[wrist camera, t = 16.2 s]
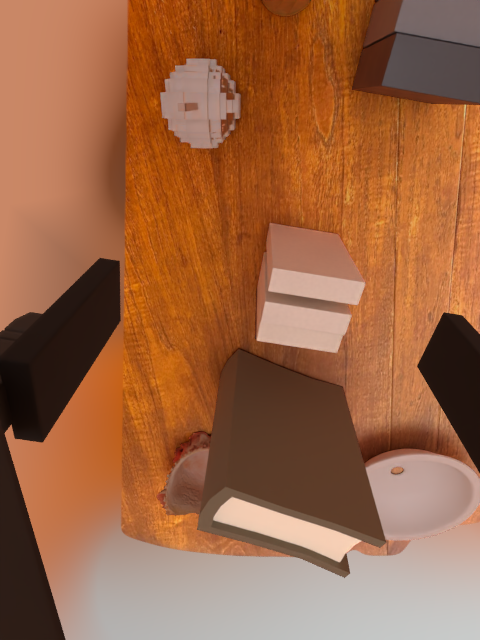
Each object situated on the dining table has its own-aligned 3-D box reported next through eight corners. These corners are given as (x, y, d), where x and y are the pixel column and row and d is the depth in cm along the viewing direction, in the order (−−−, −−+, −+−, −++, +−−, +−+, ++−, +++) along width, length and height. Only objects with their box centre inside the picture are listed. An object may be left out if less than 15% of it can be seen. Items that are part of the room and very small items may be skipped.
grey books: (386, -47, 35) (436, -105, 25) (480, -29, 35) (566, -79, 25) (351, 89, 40) (381, 86, 31) (432, 103, 41) (487, 104, 31)
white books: (264, 251, 50) (264, 301, 38) (329, 262, 50) (352, 315, 38) (256, 292, 53) (254, 351, 41) (317, 302, 54) (335, 363, 41)
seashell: (218, 489, 79) (268, 458, 72) (214, 543, 70) (271, 514, 64) (151, 454, 72) (200, 418, 66) (138, 510, 64) (192, 474, 57)
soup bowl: (488, 475, 70) (508, 508, 64) (377, 522, 79) (386, 555, 74) (421, 402, 62) (437, 432, 56) (306, 464, 71) (310, 495, 65)
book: (215, 382, 62) (190, 532, 41) (234, 345, 58) (218, 489, 37) (317, 420, 65) (344, 577, 44) (342, 386, 61) (386, 542, 40)
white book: (269, 222, 48) (272, 267, 35) (338, 233, 48) (366, 282, 36) (266, 241, 49) (267, 291, 37) (332, 252, 50) (357, 305, 37)
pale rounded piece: (240, 144, 44) (231, 162, 31) (174, 142, 44) (138, 160, 31) (241, 63, 40) (231, 45, 27) (168, 62, 40) (124, 44, 27)
